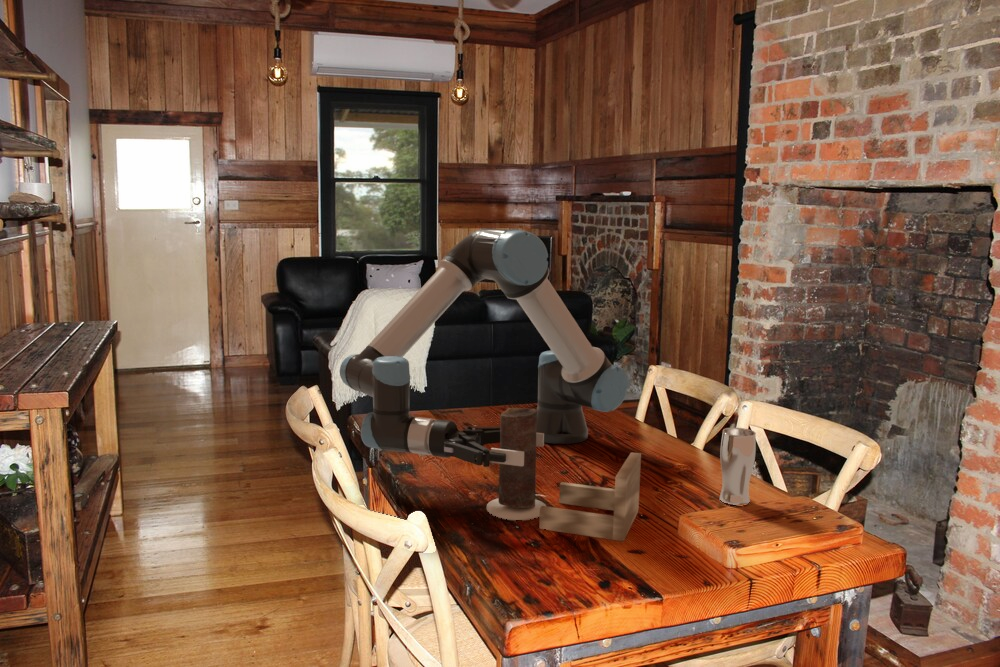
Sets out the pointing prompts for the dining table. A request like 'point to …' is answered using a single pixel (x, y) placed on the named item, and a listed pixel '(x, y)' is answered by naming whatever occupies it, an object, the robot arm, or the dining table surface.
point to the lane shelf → (598, 505)
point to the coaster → (514, 511)
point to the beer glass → (737, 464)
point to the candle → (522, 437)
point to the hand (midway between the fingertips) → (534, 449)
